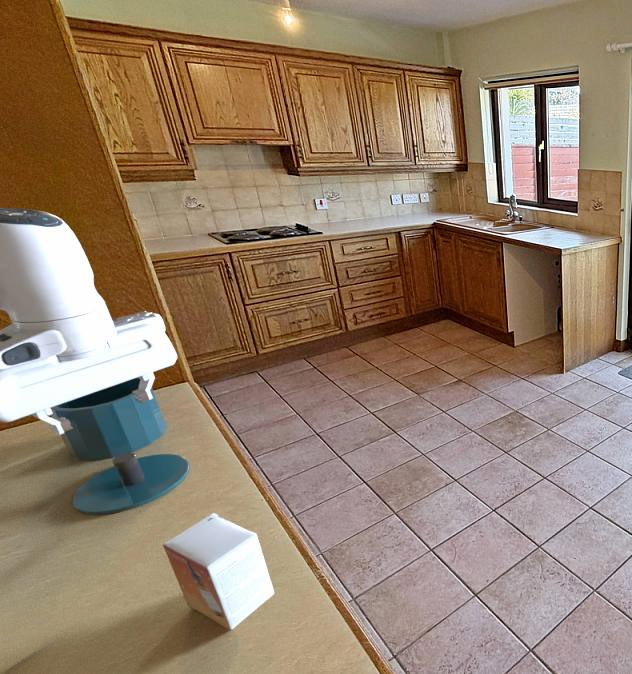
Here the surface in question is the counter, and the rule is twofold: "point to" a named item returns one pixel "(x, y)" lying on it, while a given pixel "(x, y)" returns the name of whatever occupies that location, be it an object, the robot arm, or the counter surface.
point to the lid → (130, 483)
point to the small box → (220, 570)
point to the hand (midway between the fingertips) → (106, 415)
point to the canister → (110, 422)
